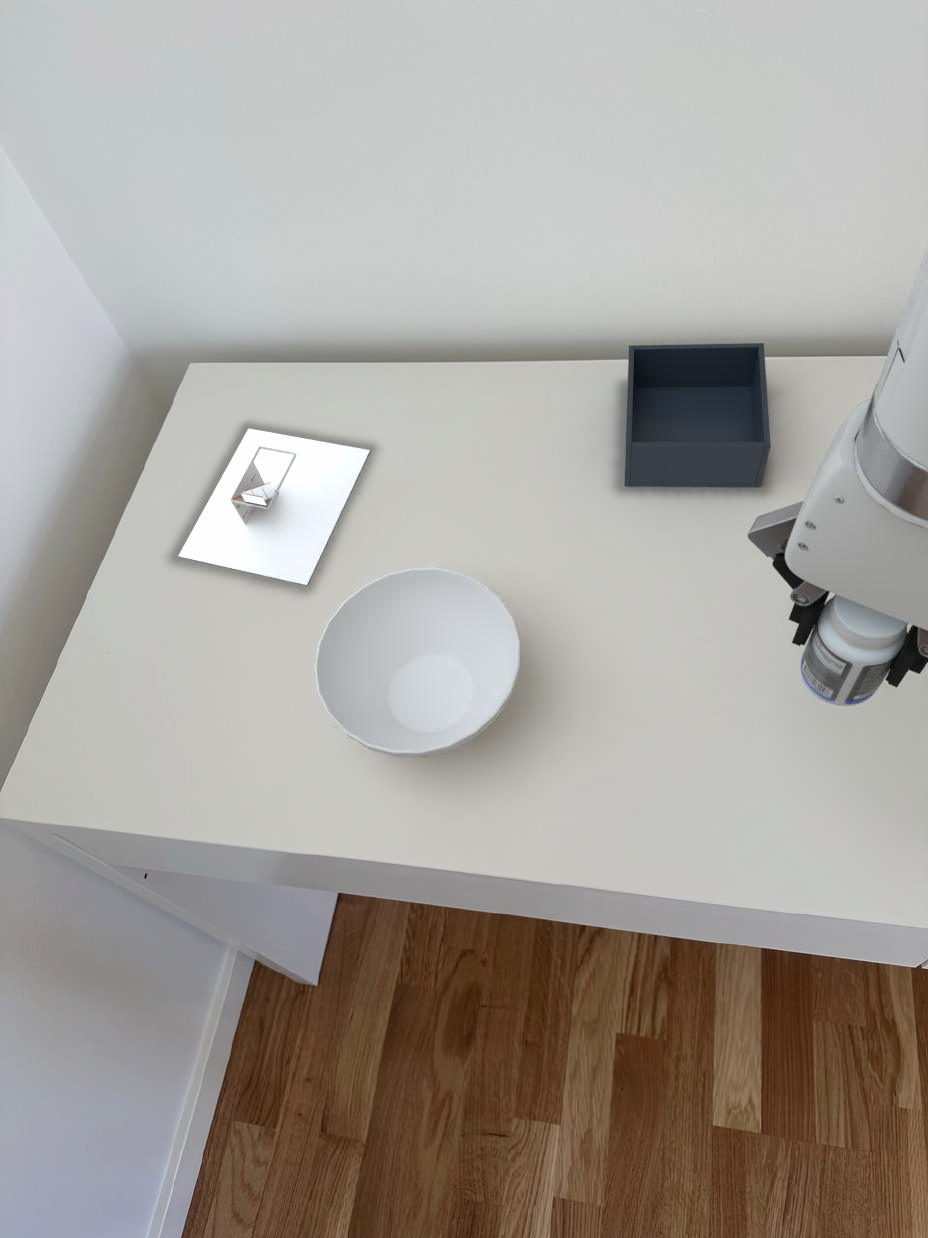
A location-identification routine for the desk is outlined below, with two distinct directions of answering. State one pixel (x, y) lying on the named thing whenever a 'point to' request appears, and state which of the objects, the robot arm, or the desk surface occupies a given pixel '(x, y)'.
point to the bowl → (418, 662)
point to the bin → (697, 415)
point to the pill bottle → (850, 651)
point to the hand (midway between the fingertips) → (853, 643)
